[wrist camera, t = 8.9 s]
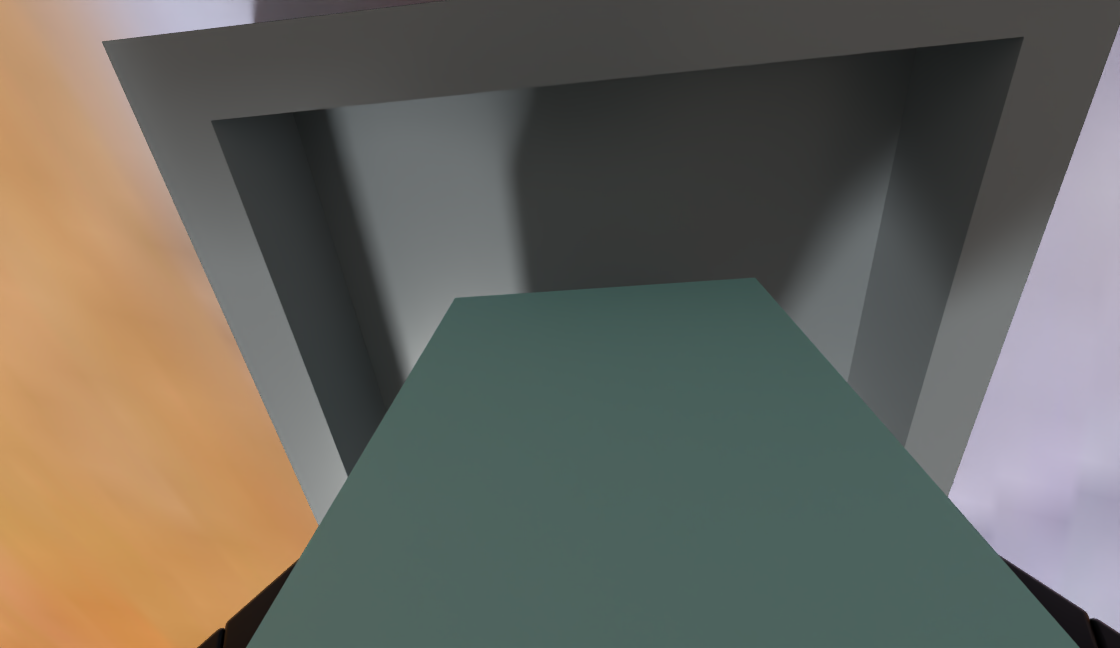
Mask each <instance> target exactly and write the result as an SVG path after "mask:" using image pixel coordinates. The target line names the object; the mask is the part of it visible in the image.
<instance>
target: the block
mask: <svg viewBox="0 0 1120 648" xmlns="http://www.w3.org/2000/svg"><path fill="white" fill-rule="evenodd" d="M246 648H1080V647H1079V646H1078V645H1077V644H1076V643H1075V642H1074V641H1073V640H1072V638H1071V637H1070V636H1069V635H1068V634H1067V633H1066V632H1065V630H1064V629H1063V628H1062V627H1061V626H1060V625H1059V624H1058V622H1057V621H1056V620H1055V619H1054V618H1053V617H1052V616H1051V614H1050V613H1049V612H1048V611H1047V610H1046V609H1045V608H1044V606H1043V605H1042V604H1041V603H1040V602H1039V601H1038V600H1037V598H1036V597H1035V596H1034V595H1033V594H1032V593H1031V592H1030V590H1029V589H1028V588H1027V587H1026V586H1025V585H1024V584H1023V582H1022V581H1021V580H1020V579H1019V578H1018V577H1017V576H1016V575H1015V573H1014V572H1013V571H1012V570H1011V569H1010V568H1009V567H1008V565H1007V564H1006V563H1005V562H1004V561H1003V560H1002V559H1001V557H1000V556H999V555H998V554H997V553H996V552H995V551H994V549H993V548H992V547H991V546H990V545H989V544H988V543H987V541H986V540H985V539H984V538H983V537H982V536H981V535H980V533H979V532H978V531H977V530H976V529H975V528H974V527H973V525H972V524H971V523H970V522H969V521H968V520H967V519H966V517H965V516H964V515H963V514H962V513H961V512H960V511H959V509H958V508H957V507H956V506H955V505H954V504H953V503H952V502H951V500H950V499H949V498H948V497H947V496H946V495H945V494H944V492H943V491H942V490H941V489H940V488H939V487H938V486H937V484H936V483H935V482H934V481H933V480H932V479H931V478H930V476H929V475H928V474H927V473H926V472H925V471H924V470H923V468H922V467H921V466H920V465H919V464H918V463H917V462H916V460H915V459H914V458H913V457H912V456H911V455H910V454H909V452H908V451H907V450H906V449H905V448H904V447H903V446H902V444H901V443H900V442H899V441H898V440H897V439H896V438H895V436H894V435H893V434H892V433H891V432H890V431H889V430H888V429H887V427H886V426H885V425H884V424H883V423H882V422H881V421H880V419H879V418H878V417H877V416H876V415H875V414H874V413H873V411H872V410H871V409H870V408H869V407H868V406H867V405H866V403H865V402H864V401H863V400H862V399H861V398H860V397H859V395H858V394H857V393H856V392H855V391H854V390H853V389H852V387H851V386H850V385H849V384H848V383H847V382H846V381H845V379H844V378H843V377H842V376H841V375H840V374H839V373H838V371H837V370H836V369H835V368H834V367H833V366H832V365H831V364H830V362H829V361H828V360H827V359H826V358H825V357H824V356H823V354H822V353H821V352H820V351H819V350H818V349H817V348H816V346H815V345H814V344H813V343H812V342H811V341H810V340H809V338H808V337H807V336H806V335H805V334H804V333H803V332H802V330H801V329H800V328H799V327H798V326H797V325H796V324H795V322H794V321H793V320H792V319H791V318H790V317H789V316H788V314H787V313H786V312H785V311H784V310H783V309H782V308H781V306H780V305H779V304H778V303H777V302H776V301H775V300H774V298H773V297H772V296H771V295H770V294H769V293H768V292H767V291H766V289H765V288H764V287H763V286H762V285H761V284H760V283H759V281H758V280H757V279H756V278H741V279H726V280H711V281H696V282H682V283H667V284H652V285H637V286H622V287H608V288H593V289H578V290H563V291H549V292H534V293H519V294H504V295H489V296H475V297H460V298H455V299H454V300H453V302H452V304H451V305H450V307H449V309H448V310H447V312H446V314H445V315H444V317H443V319H442V321H441V322H440V324H439V326H438V327H437V329H436V331H435V332H434V334H433V336H432V337H431V339H430V341H429V342H428V344H427V346H426V347H425V349H424V351H423V352H422V354H421V356H420V357H419V359H418V361H417V362H416V364H415V366H414V367H413V369H412V371H411V372H410V374H409V376H408V377H407V379H406V381H405V382H404V384H403V386H402V387H401V389H400V391H399V393H398V394H397V396H396V398H395V399H394V401H393V403H392V404H391V406H390V408H389V409H388V411H387V413H386V414H385V416H384V418H383V419H382V421H381V423H380V424H379V426H378V428H377V429H376V431H375V433H374V434H373V436H372V438H371V439H370V441H369V443H368V444H367V446H366V448H365V449H364V451H363V453H362V454H361V456H360V458H359V459H358V461H357V463H356V465H355V466H354V468H353V470H352V471H351V473H350V475H349V476H348V478H347V480H346V481H345V483H344V485H343V486H342V488H341V490H340V491H339V493H338V495H337V496H336V498H335V500H334V501H333V503H332V505H331V506H330V508H329V510H328V511H327V513H326V515H325V516H324V518H323V520H322V521H321V523H320V525H319V526H318V528H317V530H316V532H315V533H314V535H313V537H312V538H311V540H310V542H309V543H308V545H307V547H306V548H305V550H304V552H303V553H302V555H301V557H300V558H299V560H298V562H297V563H296V565H295V567H294V568H293V570H292V572H291V573H290V575H289V577H288V578H287V580H286V582H285V583H284V585H283V587H282V588H281V590H280V592H279V593H278V595H277V597H276V598H275V600H274V602H273V604H272V605H271V607H270V609H269V610H268V612H267V614H266V615H265V617H264V619H263V620H262V622H261V624H260V625H259V627H258V629H257V630H256V632H255V634H254V635H253V637H252V639H251V640H250V642H249V644H248V645H247V647H246Z"/></svg>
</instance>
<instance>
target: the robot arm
mask: <svg viewBox="0 0 1120 648" xmlns="http://www.w3.org/2000/svg"><path fill="white" fill-rule="evenodd" d="M999 556H1000V555H999ZM1000 557H1001V556H1000ZM1001 559H1002V560H1003V561H1004V562H1005V563H1006V564H1007V565H1008V567H1009V568H1010V569H1011V570H1012V571H1013V572H1014V573H1015V575H1016V576H1017V577H1018V578H1019V579H1020V580H1021V581H1022V582H1023V584H1024V585H1025V586H1026V587H1027V588H1028V589H1029V590H1030V592H1031V593H1032V594H1033V595H1034V596H1035V597H1036V598H1037V600H1038V601H1039V602H1040V603H1041V604H1042V605H1043V606H1044V608H1045V609H1046V610H1047V611H1048V612H1049V613H1050V614H1051V616H1052V617H1053V618H1054V619H1055V620H1056V621H1057V622H1058V624H1059V625H1060V626H1061V627H1062V628H1063V629H1064V630H1065V632H1066V633H1067V634H1068V635H1069V636H1070V637H1071V638H1072V640H1073V641H1074V642H1075V643H1076V644H1077V645H1078V646H1079V647H1080V648H1120V633H1118V632H1117V631H1115V630H1114V629H1112V628H1111V627H1109V626H1108V625H1106V624H1105V623H1103V622H1102V621H1100V620H1098V619H1095V618H1092V619H1089V616H1088V614H1087V613H1086V612H1085V611H1084V610H1083V609H1081V608H1080V607H1078V606H1077V605H1075V604H1073V603H1072V602H1070V601H1069V600H1067V599H1066V598H1064V597H1063V596H1061V595H1060V594H1058V593H1057V592H1055V591H1053V590H1052V589H1050V588H1049V587H1047V586H1046V585H1044V584H1043V583H1041V582H1040V581H1038V580H1037V579H1035V578H1034V577H1032V576H1030V575H1029V574H1027V573H1026V572H1024V571H1023V570H1021V569H1020V568H1018V567H1017V566H1015V565H1014V564H1012V563H1010V562H1009V561H1007V560H1006V559H1004V558H1003V557H1001ZM298 560H299V559H298ZM298 560H297V561H296V562H295V563H294V564H292V565H291V566H290V567H289V568H288V569H287V570H286V571H284V572H283V573H282V574H281V575H280V576H279V577H278V578H276V579H275V580H274V581H273V582H272V583H271V584H270V585H268V586H267V587H266V588H265V589H264V590H263V591H262V592H260V593H259V594H258V595H257V596H256V597H255V598H254V599H252V600H251V601H250V602H249V603H248V604H247V605H246V606H245V607H243V608H242V609H241V610H240V611H239V612H238V613H237V614H235V615H234V616H233V617H232V618H231V619H230V620H229V621H228V622H227V623H226V626H225V629H224V628H220V629H218V630H217V631H216V632H215V633H213V634H212V635H211V636H210V637H209V638H208V639H207V640H205V641H204V642H203V643H202V644H201V645H200V646H199V647H197V648H246V647H247V645H248V644H249V642H250V640H251V639H252V637H253V635H254V634H255V632H256V630H257V629H258V627H259V625H260V624H261V622H262V620H263V619H264V617H265V615H266V614H267V612H268V610H269V609H270V607H271V605H272V604H273V602H274V600H275V598H276V597H277V595H278V593H279V592H280V590H281V588H282V587H283V585H284V583H285V582H286V580H287V578H288V577H289V575H290V573H291V572H292V570H293V568H294V567H295V565H296V563H297V562H298Z"/></svg>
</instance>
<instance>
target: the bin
mask: <svg viewBox="0 0 1120 648" xmlns="http://www.w3.org/2000/svg"><path fill="white" fill-rule="evenodd" d="M1119 25H1120V0H445V1H436V2H428V3H420V4H411V5H403V6H395V7H386V8H378V9H370V10H361V11H353V12H345V13H336V14H328V15H320V16H311V17H303V18H294V19H286V20H278V21H269V22H261V23H253V24H244V25H236V26H228V27H219V28H211V29H203V30H194V31H186V32H178V33H169V34H161V35H153V36H144V37H136V38H127V39H119V40H111V41H102V43H103V45H104V48H105V50H106V52H107V54H108V57H109V59H110V61H111V63H112V65H113V68H114V70H115V72H116V74H117V77H118V79H119V81H120V83H121V86H122V88H123V90H124V92H125V94H126V97H127V99H128V101H129V103H130V106H131V108H132V110H133V112H134V115H135V117H136V119H137V121H138V123H139V126H140V128H141V130H142V132H143V135H144V137H145V139H146V141H147V144H148V146H149V148H150V150H151V153H152V155H153V157H154V159H155V161H156V164H157V166H158V168H159V170H160V173H161V175H162V177H163V179H164V182H165V184H166V186H167V188H168V190H169V193H170V195H171V197H172V199H173V202H174V204H175V206H176V208H177V211H178V213H179V215H180V217H181V219H182V222H183V224H184V226H185V228H186V231H187V233H188V235H189V237H190V240H191V242H192V244H193V246H194V249H195V251H196V253H197V255H198V257H199V260H200V262H201V264H202V266H203V269H204V271H205V273H206V275H207V278H208V280H209V282H210V284H211V286H212V289H213V291H214V293H215V295H216V298H217V300H218V302H219V304H220V307H221V309H222V311H223V313H224V315H225V318H226V320H227V322H228V324H229V327H230V329H231V331H232V333H233V336H234V338H235V340H236V342H237V345H238V347H239V349H240V351H241V353H242V356H243V358H244V360H245V362H246V365H247V367H248V369H249V371H250V374H251V376H252V378H253V380H254V382H255V385H256V387H257V389H258V391H259V394H260V396H261V398H262V400H263V403H264V405H265V407H266V409H267V412H268V414H269V416H270V418H271V420H272V423H273V425H274V427H275V429H276V432H277V434H278V436H279V438H280V441H281V443H282V445H283V447H284V449H285V452H286V454H287V456H288V458H289V461H290V463H291V465H292V467H293V470H294V472H295V474H296V476H297V478H298V481H299V483H300V485H301V487H302V490H303V492H304V494H305V496H306V499H307V501H308V503H309V505H310V508H311V510H312V512H313V514H314V516H315V519H316V521H317V523H318V525H320V523H321V521H322V520H323V518H324V516H325V515H326V513H327V511H328V510H329V508H330V506H331V505H332V503H333V501H334V500H335V498H336V496H337V495H338V493H339V491H340V490H341V488H342V486H343V485H344V483H345V481H346V480H347V478H348V476H349V475H350V473H351V471H352V470H353V468H354V466H355V465H356V463H357V461H358V459H359V458H360V456H361V454H362V453H363V451H364V449H365V448H366V446H367V444H368V443H369V441H370V439H371V438H372V436H373V434H374V433H375V431H376V429H377V428H378V426H379V424H380V423H381V421H382V419H383V418H384V416H385V414H386V413H387V411H388V409H389V408H390V406H391V404H392V403H393V401H394V399H395V398H396V396H397V394H398V393H399V391H400V389H401V387H402V386H403V384H404V382H405V381H406V379H407V377H408V376H409V374H410V372H411V371H412V369H413V367H414V366H415V364H416V362H417V361H418V359H419V357H420V356H421V354H422V352H423V351H424V349H425V347H426V346H427V344H428V342H429V341H430V339H431V337H432V336H433V334H434V332H435V331H436V329H437V327H438V326H439V324H440V322H441V321H442V319H443V317H444V315H445V314H446V312H447V310H448V309H449V307H450V305H451V304H452V302H453V300H454V299H455V298H460V297H475V296H489V295H504V294H519V293H534V292H549V291H563V290H578V289H593V288H608V287H622V286H637V285H652V284H667V283H682V282H696V281H711V280H726V279H741V278H756V279H757V280H758V281H759V283H760V284H761V285H762V286H763V287H764V288H765V289H766V291H767V292H768V293H769V294H770V295H771V296H772V297H773V298H774V300H775V301H776V302H777V303H778V304H779V305H780V306H781V308H782V309H783V310H784V311H785V312H786V313H787V314H788V316H789V317H790V318H791V319H792V320H793V321H794V322H795V324H796V325H797V326H798V327H799V328H800V329H801V330H802V332H803V333H804V334H805V335H806V336H807V337H808V338H809V340H810V341H811V342H812V343H813V344H814V345H815V346H816V348H817V349H818V350H819V351H820V352H821V353H822V354H823V356H824V357H825V358H826V359H827V360H828V361H829V362H830V364H831V365H832V366H833V367H834V368H835V369H836V370H837V371H838V373H839V374H840V375H841V376H842V377H843V378H844V379H845V381H846V382H847V383H848V384H849V385H850V386H851V387H852V389H853V390H854V391H855V392H856V393H857V394H858V395H859V397H860V398H861V399H862V400H863V401H864V402H865V403H866V405H867V406H868V407H869V408H870V409H871V410H872V411H873V413H874V414H875V415H876V416H877V417H878V418H879V419H880V421H881V422H882V423H883V424H884V425H885V426H886V427H887V429H888V430H889V431H890V432H891V433H892V434H893V435H894V436H895V438H896V439H897V440H898V441H899V442H900V443H901V444H902V446H903V447H904V448H905V449H906V450H907V451H908V452H909V454H910V455H911V456H912V457H913V458H914V459H915V460H916V462H917V463H918V464H919V465H920V466H921V467H922V468H923V470H924V471H925V472H926V473H927V474H928V475H929V476H930V478H931V479H932V480H933V481H934V482H935V483H936V484H937V486H938V487H939V488H940V489H941V490H942V491H943V492H944V494H945V495H946V496H947V497H948V494H949V492H950V489H951V486H952V483H953V481H954V478H955V475H956V472H957V470H958V467H959V464H960V461H961V459H962V456H963V453H964V451H965V448H966V445H967V442H968V440H969V437H970V434H971V431H972V429H973V426H974V423H975V420H976V418H977V415H978V412H979V409H980V407H981V404H982V401H983V398H984V396H985V393H986V390H987V387H988V385H989V382H990V379H991V376H992V374H993V371H994V368H995V365H996V363H997V360H998V357H999V354H1000V352H1001V349H1002V346H1003V343H1004V341H1005V338H1006V335H1007V333H1008V330H1009V327H1010V324H1011V322H1012V319H1013V316H1014V313H1015V311H1016V308H1017V305H1018V302H1019V300H1020V297H1021V294H1022V291H1023V289H1024V286H1025V283H1026V280H1027V278H1028V275H1029V272H1030V269H1031V267H1032V264H1033V261H1034V258H1035V256H1036V253H1037V250H1038V247H1039V245H1040V242H1041V239H1042V236H1043V234H1044V231H1045V228H1046V225H1047V223H1048V220H1049V217H1050V215H1051V212H1052V209H1053V206H1054V204H1055V201H1056V198H1057V195H1058V193H1059V190H1060V187H1061V184H1062V182H1063V179H1064V176H1065V173H1066V171H1067V168H1068V165H1069V162H1070V160H1071V157H1072V154H1073V151H1074V149H1075V146H1076V143H1077V140H1078V138H1079V135H1080V132H1081V129H1082V127H1083V124H1084V121H1085V118H1086V116H1087V113H1088V110H1089V107H1090V105H1091V102H1092V99H1093V97H1094V94H1095V91H1096V88H1097V86H1098V83H1099V80H1100V77H1101V75H1102V72H1103V69H1104V66H1105V64H1106V61H1107V58H1108V55H1109V53H1110V50H1111V47H1112V44H1113V42H1114V39H1115V36H1116V33H1117V31H1118V28H1119Z"/></svg>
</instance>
